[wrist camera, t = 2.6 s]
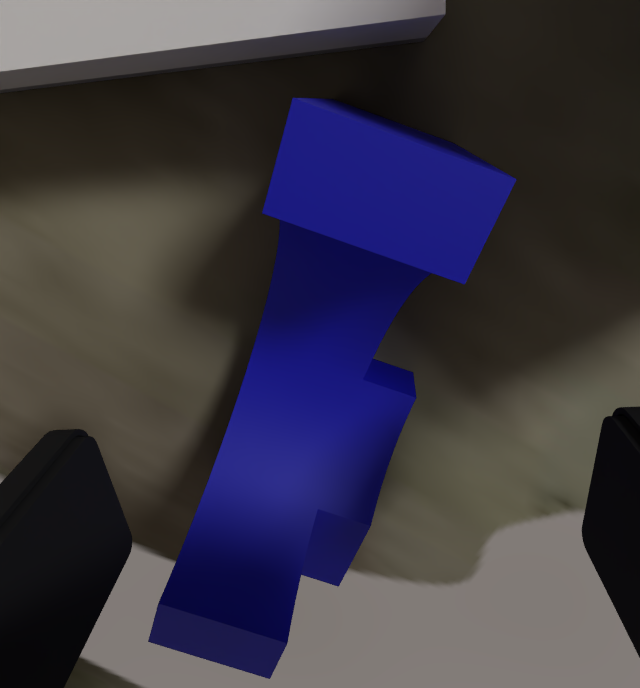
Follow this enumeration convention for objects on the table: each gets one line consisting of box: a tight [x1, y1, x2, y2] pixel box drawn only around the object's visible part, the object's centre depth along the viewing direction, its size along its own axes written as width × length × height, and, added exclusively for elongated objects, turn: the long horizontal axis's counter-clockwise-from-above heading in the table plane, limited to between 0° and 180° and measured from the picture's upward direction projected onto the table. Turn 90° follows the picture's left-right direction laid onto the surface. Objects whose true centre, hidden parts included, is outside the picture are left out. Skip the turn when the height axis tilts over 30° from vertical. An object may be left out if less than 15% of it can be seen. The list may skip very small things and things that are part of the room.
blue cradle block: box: [148, 98, 517, 679], centre depth 12 cm, size 12×4×6 cm, turn 162°
